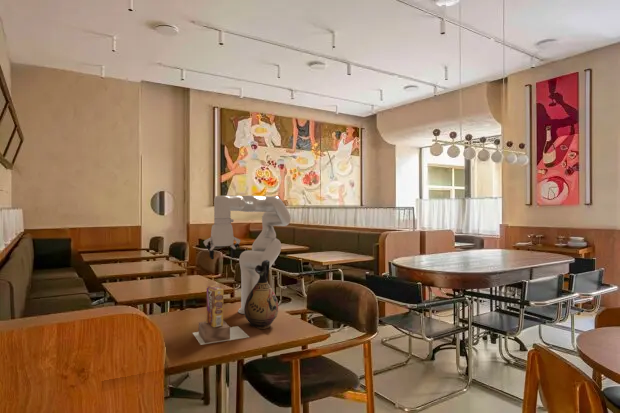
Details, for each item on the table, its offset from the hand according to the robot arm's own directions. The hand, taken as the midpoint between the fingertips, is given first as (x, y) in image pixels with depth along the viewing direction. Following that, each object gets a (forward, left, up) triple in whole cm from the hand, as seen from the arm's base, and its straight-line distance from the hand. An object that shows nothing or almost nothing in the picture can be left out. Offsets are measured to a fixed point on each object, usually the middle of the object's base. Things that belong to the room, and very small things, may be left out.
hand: (222, 258), depth 187 cm
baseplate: (+6, +20, -30) cm, 37 cm away
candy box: (+9, +21, -24) cm, 33 cm away
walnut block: (+9, +21, -29) cm, 37 cm away
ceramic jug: (-15, +13, -31) cm, 36 cm away
